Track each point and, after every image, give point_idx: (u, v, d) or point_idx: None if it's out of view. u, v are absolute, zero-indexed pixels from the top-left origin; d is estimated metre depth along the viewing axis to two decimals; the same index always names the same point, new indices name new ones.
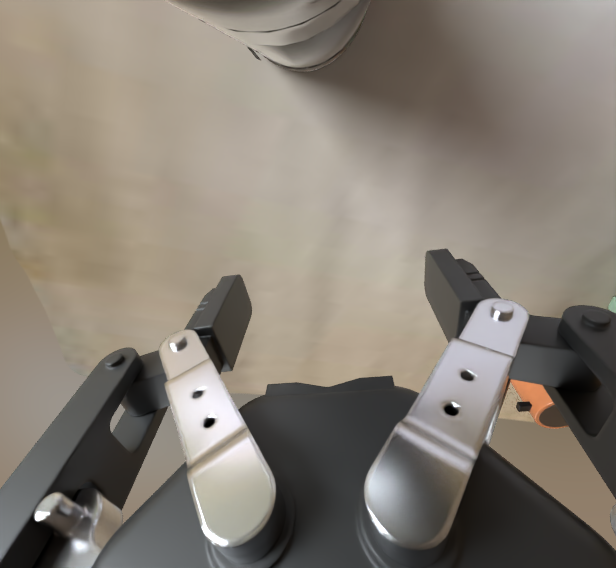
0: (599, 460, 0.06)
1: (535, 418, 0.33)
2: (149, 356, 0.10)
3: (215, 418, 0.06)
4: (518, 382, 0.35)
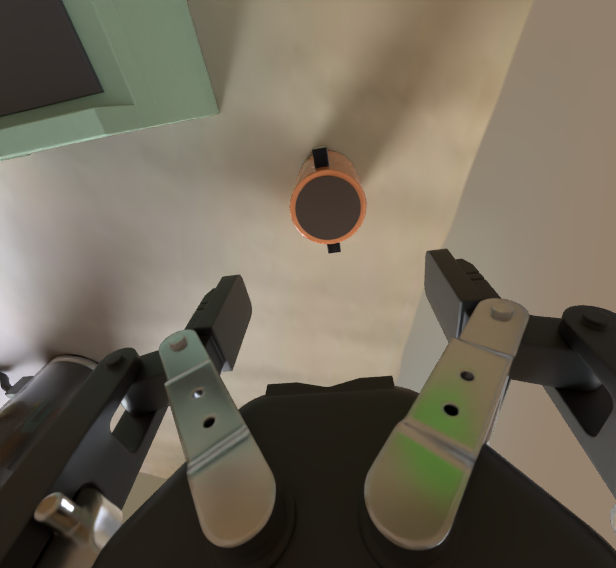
0: (600, 460, 0.06)
1: (340, 241, 0.22)
2: (149, 357, 0.10)
3: (215, 418, 0.06)
4: None
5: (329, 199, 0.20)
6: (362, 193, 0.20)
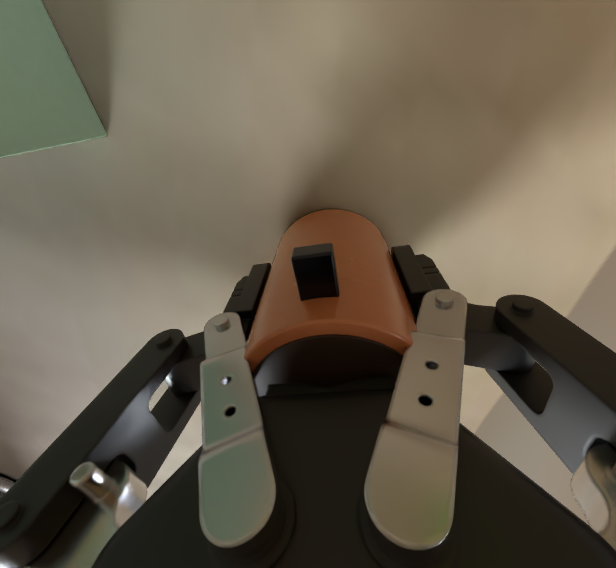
0: (549, 435, 0.07)
1: None
2: (193, 338, 0.10)
3: (236, 409, 0.06)
4: None
5: (338, 380, 0.08)
6: None
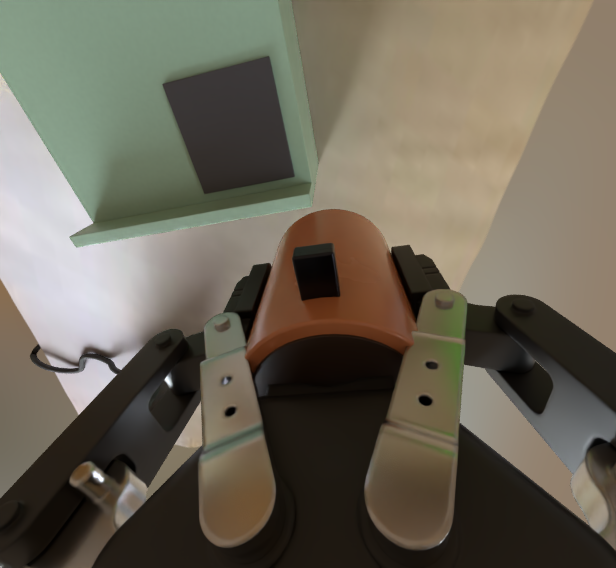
0: (548, 435, 0.07)
1: None
2: (193, 338, 0.10)
3: (236, 409, 0.06)
4: None
5: (339, 380, 0.08)
6: None
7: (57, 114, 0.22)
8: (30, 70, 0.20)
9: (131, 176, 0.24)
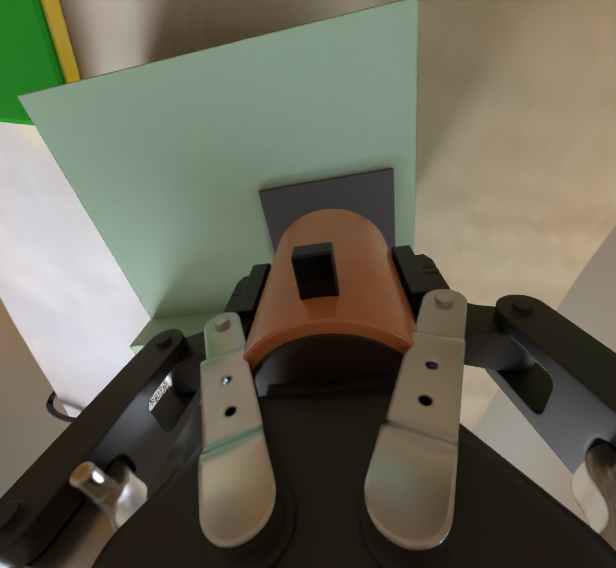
0: (549, 435, 0.07)
1: None
2: (193, 338, 0.10)
3: (236, 409, 0.06)
4: None
5: (338, 379, 0.08)
6: None
7: (125, 215, 0.18)
8: (99, 171, 0.17)
9: (202, 277, 0.21)
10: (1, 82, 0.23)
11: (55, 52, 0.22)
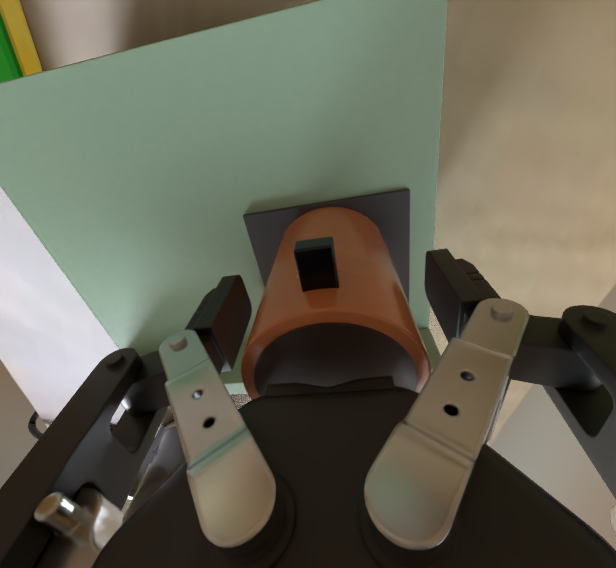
0: (600, 461, 0.06)
1: None
2: (149, 357, 0.10)
3: (215, 418, 0.06)
4: None
5: (337, 367, 0.08)
6: (425, 359, 0.08)
7: (84, 242, 0.15)
8: (48, 190, 0.14)
9: (180, 311, 0.18)
10: None
11: (11, 47, 0.19)
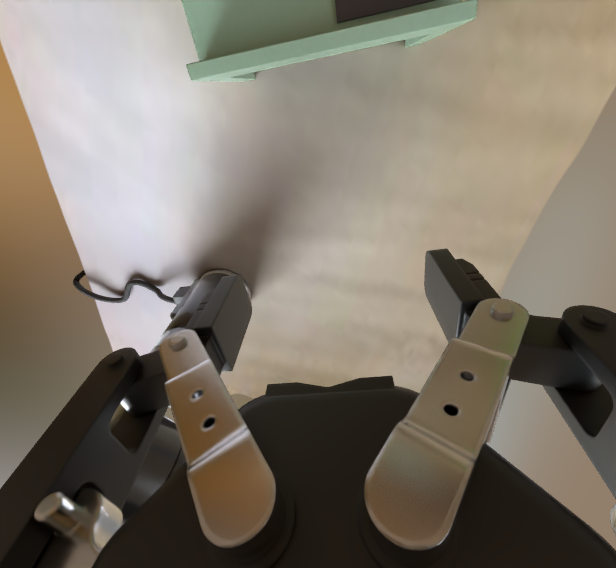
0: (599, 460, 0.06)
1: None
2: (149, 356, 0.10)
3: (215, 418, 0.06)
4: None
5: None
6: None
7: None
8: None
9: None
10: None
11: None
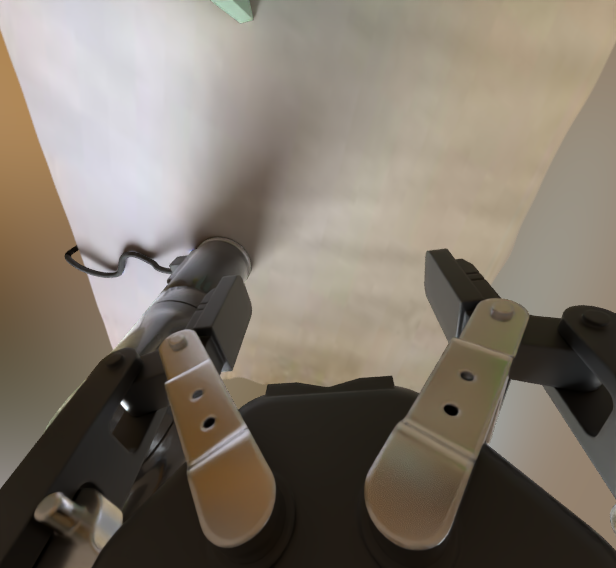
0: (599, 460, 0.06)
1: None
2: (149, 356, 0.10)
3: (215, 418, 0.06)
4: None
5: None
6: None
7: None
8: None
9: None
10: None
11: None
